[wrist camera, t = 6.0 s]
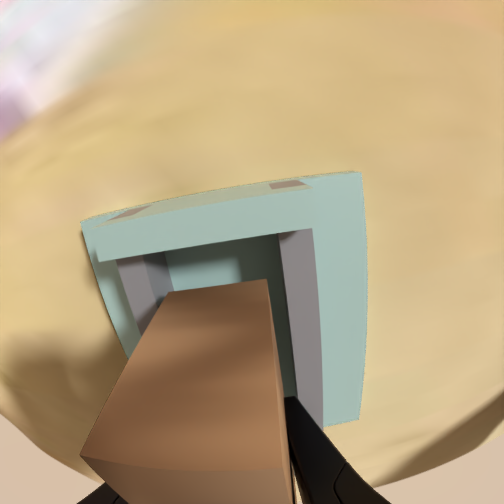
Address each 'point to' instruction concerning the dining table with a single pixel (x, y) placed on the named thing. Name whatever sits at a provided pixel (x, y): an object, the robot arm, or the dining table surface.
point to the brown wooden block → (199, 406)
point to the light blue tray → (254, 273)
